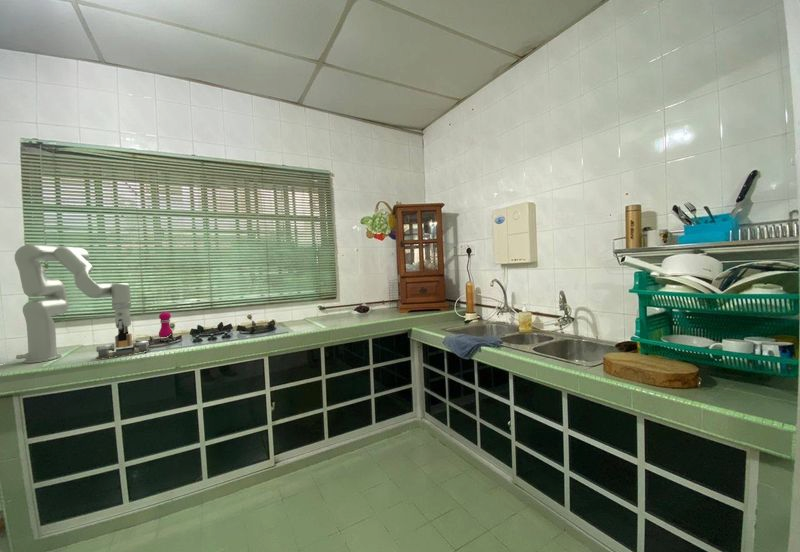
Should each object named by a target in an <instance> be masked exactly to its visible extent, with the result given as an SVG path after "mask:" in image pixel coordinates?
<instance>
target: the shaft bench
mask: <svg viewBox="0 0 800 552" xmlns="http://www.w3.org/2000/svg"><path fill="white" fill-rule="evenodd" d="M148 346H150V342H149V340H142V341H135V340H134V341H132V346H129V347H121V348H116V345H115V343H112V344H109V345H101V346H96V348H95V350H96V353H97V354H98V355H97V356H96V357H95V360H96V359H101V360H103V359H102V358H108V359H110V358H109V357H115V356H122V355H129V354H134V353H139V352H144V351H147V350H148V349H149V350H150V347H148ZM115 358H116V357H115Z"/></svg>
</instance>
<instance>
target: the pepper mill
mask: <svg viewBox="0 0 800 552" xmlns="http://www.w3.org/2000/svg"><path fill="white" fill-rule="evenodd" d="M171 317H172V315H171V313H170V312H167V310H166V309H164V310H162V312H161V313H159V316H158V319H159V320H160V324H161V325H160V329H159V332H158V337H160V338H161V337H167V336H169V335H170V334H173V330H172V328H171V326H170V322H171ZM173 335H174V334H173Z"/></svg>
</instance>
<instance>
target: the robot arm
mask: <svg viewBox="0 0 800 552" xmlns="http://www.w3.org/2000/svg"><path fill="white" fill-rule="evenodd" d="M89 258H90V254H89V251H88V250H86V249H85V248H83V247H77V246H66V245H64V246H62V245H54V244H53V245H51V244H41V243H29V244H25V245H22V246H20V247H19V248H18V249H17V250H16V252H15V253H14V262H15V264H16V267H17V269H18V273H19V278H20V281H21V282H20V283H21V288H22V290H23V291H22V292H23V293H24V294H25V295H26V297H27V296H28V297H33V298H36V297H37V298H38V297H44V298H38V299H32V300H30V301H27V302H26V303H25V304H24V305H23V306H22V313H23V316H24V319H25V323H26V333H27V334H26V337H27V348H28V349H27V351H28V352H27V353H24V354H16V357H15V359H16V360H21V359H22V360H23V359H24V360H23V363H25V364H34V363H36V364H37V363H42V362H43V363H44V362H49V361H54V360H57V359H59V358H61V357H62V354H60V353H58V352H57V351H58V350H57V336H56V334H57V333H56V332H57V330H56V324H55V322H54V319H53V318H52V317H54V316H59V315H63V314H65V313H67V311H68V309H69V300H68V296H67V291H66V286H65V284H64V283H63V282H62V281H61V280H59V279H57V278H55V277H54V278H53V277H52V278H51V277H50V278H49V277H47V274H46V270H45V267H44V266H43V265H42V264H41V263H40V261H41V262H42V261H43V262H45V261H46V262H59V263H60V264H61V265H62V266H63V267H64V268H65V269H66V270H68V272H69V273H71V274H72V275H73V280H74V285H75V286H76V288H78V290H80V291H81V292H82V293H83V294H84V295H85V296H87V297H88V298H90V299H102V298H105V299H106V298H111V309H112V310H114V321H115V328H116V329H118V331H117V333H118V334H117V335H118V341H125V340H127V336H126V334H129V327H130V326H131V325H132V322H131V310H130V309H132V301H131V300H132V299H131V298H132V297H131V285H130V284H129V283H127V282H121V283H120V282H118V283H111V282H109V283H108V282H105V283H104V282H103V283H97V282H95V281H94V279H92V278H91V277H90V275H89V274H90V273H91V272H92V271H93V270H94V266H93V265H92V264H91V263H90V262H89V261H88V260H89Z"/></svg>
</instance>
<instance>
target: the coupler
mask: <svg viewBox="0 0 800 552" xmlns="http://www.w3.org/2000/svg"><path fill="white" fill-rule="evenodd" d="M132 334H133V333H128V334H126V336H127V340H125V341H118V334H117V335H115V336H114V342H115V343H114V346H115V349H120V348H128V347H132V346H133V335H132Z"/></svg>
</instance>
